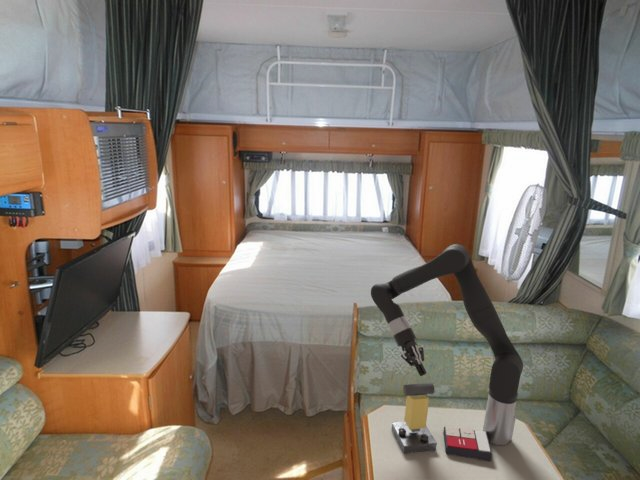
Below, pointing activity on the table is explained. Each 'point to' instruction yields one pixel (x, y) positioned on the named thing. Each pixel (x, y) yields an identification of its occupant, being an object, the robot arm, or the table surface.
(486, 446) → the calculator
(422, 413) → the yellow toy mallet
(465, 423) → the table surface
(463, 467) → the table surface
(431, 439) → the base
